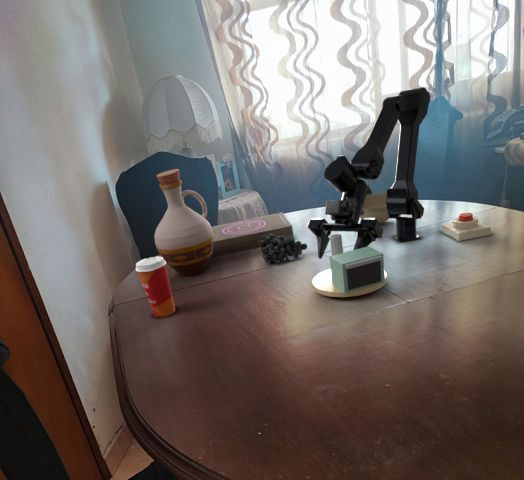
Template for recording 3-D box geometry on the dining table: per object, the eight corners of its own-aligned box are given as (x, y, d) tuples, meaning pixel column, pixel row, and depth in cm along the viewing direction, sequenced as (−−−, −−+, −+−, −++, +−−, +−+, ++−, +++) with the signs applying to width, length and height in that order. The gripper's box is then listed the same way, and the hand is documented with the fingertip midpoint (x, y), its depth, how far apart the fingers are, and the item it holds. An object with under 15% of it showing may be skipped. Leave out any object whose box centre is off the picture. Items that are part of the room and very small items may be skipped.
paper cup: (152, 309, 123) (136, 259, 116) (180, 304, 123) (166, 253, 116) (148, 321, 116) (131, 269, 109) (178, 315, 116) (163, 262, 109)
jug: (201, 256, 158) (179, 164, 144) (235, 262, 146) (215, 162, 132) (154, 277, 147) (125, 179, 133) (186, 285, 135) (158, 178, 121)
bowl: (411, 225, 149) (410, 199, 145) (354, 234, 151) (352, 209, 147) (397, 212, 165) (396, 189, 161) (345, 220, 167) (343, 198, 163)
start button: (456, 220, 133) (456, 214, 132) (468, 218, 133) (468, 212, 132) (462, 223, 130) (462, 217, 129) (474, 220, 130) (475, 214, 129)
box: (441, 231, 138) (441, 218, 136) (470, 225, 138) (471, 212, 136) (458, 241, 128) (459, 226, 127) (490, 234, 129) (491, 220, 127)
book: (284, 225, 176) (282, 212, 174) (294, 240, 156) (292, 225, 154) (205, 241, 175) (202, 228, 173) (205, 258, 156) (202, 243, 153)
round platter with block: (327, 304, 104) (323, 261, 99) (303, 279, 120) (298, 241, 115) (402, 285, 106) (401, 242, 101) (368, 263, 122) (366, 225, 117)
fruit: (303, 223, 138) (254, 232, 137) (310, 238, 133) (259, 247, 132) (304, 247, 145) (257, 256, 144) (311, 262, 139) (262, 271, 138)
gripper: (306, 186, 116) (288, 243, 114) (376, 182, 105) (358, 245, 103) (325, 209, 125) (309, 262, 123) (391, 208, 114) (374, 266, 112)
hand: (335, 259), depth 115 cm, fingers open, 9 cm apart
